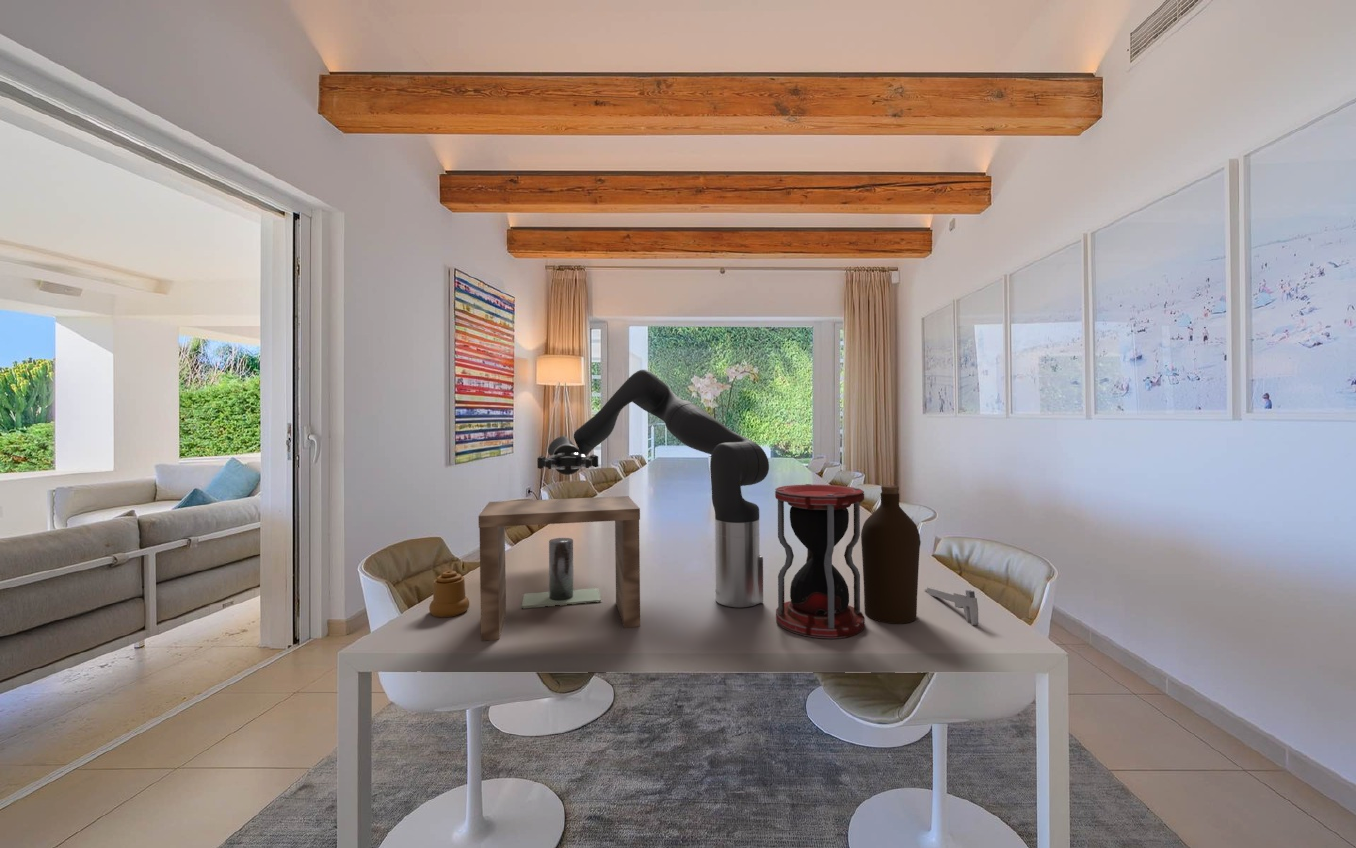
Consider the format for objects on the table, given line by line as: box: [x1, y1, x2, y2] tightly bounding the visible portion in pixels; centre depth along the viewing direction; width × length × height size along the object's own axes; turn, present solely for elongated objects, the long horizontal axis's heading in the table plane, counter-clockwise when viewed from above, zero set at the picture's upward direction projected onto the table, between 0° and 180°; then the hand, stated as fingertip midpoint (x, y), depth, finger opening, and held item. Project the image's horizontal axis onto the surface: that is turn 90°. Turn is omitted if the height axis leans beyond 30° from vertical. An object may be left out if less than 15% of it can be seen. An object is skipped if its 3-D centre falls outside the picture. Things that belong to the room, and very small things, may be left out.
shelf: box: [478, 495, 641, 642], centre depth 106 cm, size 28×16×22 cm, turn 102°
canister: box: [548, 537, 574, 601], centre depth 118 cm, size 5×5×12 cm
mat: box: [521, 587, 602, 609], centre depth 118 cm, size 16×8×1 cm, turn 102°
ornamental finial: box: [428, 570, 470, 618], centre depth 111 cm, size 8×8×8 cm
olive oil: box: [860, 484, 922, 625], centre depth 107 cm, size 11×11×25 cm
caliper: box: [924, 586, 979, 626], centre depth 112 cm, size 20×1×6 cm, turn 0°
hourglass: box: [774, 483, 866, 640], centre depth 104 cm, size 16×16×25 cm
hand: (568, 464), depth 127 cm, fingers open, 8 cm apart
